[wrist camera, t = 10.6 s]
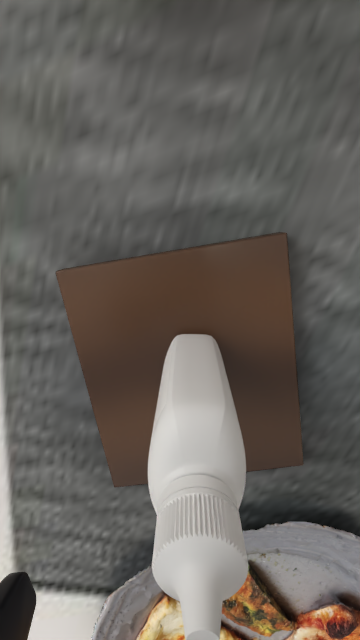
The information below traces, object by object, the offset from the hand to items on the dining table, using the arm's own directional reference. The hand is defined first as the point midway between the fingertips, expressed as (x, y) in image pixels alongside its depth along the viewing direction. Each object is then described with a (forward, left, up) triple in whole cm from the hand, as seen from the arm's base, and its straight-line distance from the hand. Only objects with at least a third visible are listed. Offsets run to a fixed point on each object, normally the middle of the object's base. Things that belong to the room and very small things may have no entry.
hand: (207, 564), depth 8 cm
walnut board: (0, 0, -12) cm, 12 cm away
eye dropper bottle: (0, 0, -11) cm, 11 cm away
